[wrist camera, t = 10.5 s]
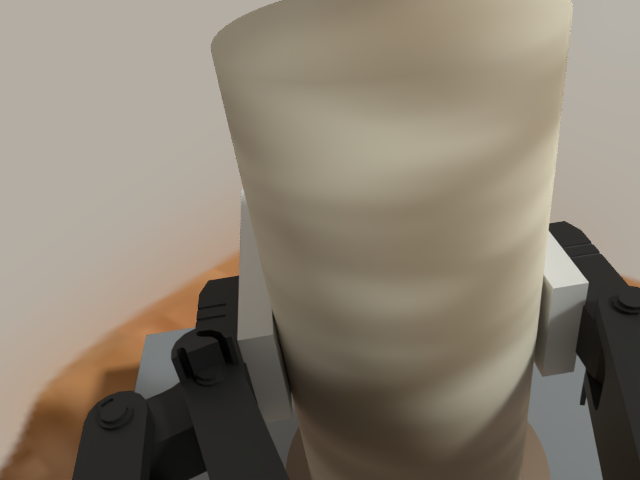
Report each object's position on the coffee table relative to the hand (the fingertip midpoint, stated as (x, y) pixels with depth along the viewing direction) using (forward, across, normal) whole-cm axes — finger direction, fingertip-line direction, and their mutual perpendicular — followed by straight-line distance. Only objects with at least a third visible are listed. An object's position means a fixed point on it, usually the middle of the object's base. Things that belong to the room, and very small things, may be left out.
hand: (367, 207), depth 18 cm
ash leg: (-5, 0, -9) cm, 10 cm away
